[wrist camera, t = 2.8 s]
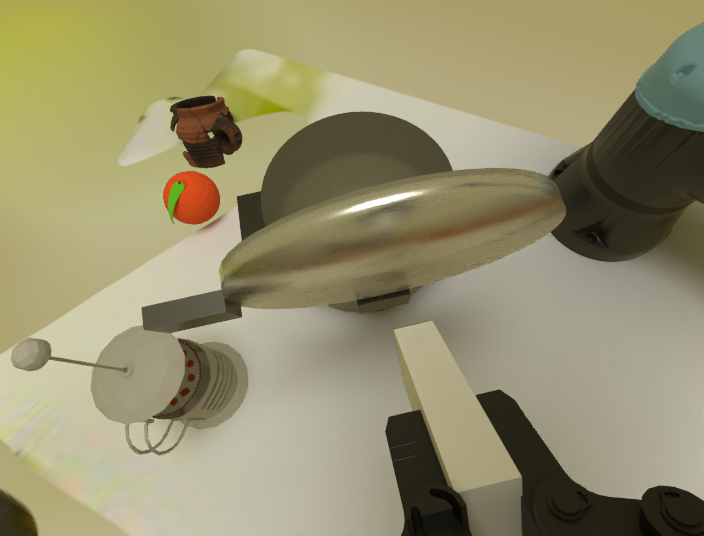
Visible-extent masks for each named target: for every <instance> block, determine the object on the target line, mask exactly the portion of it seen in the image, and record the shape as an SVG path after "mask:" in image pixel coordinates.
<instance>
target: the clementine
mask: <svg viewBox="0 0 704 536" xmlns="http://www.w3.org/2000/svg"><path fill="white" fill-rule="evenodd" d="M163 199H164V203H165V207H166V208H167V210H168V211H169V215H170V218H171V220H172V222H173V218H172V217H174V218H176V219H177V220H179V221H181V222H184V223H187V224H201V223H203V222H206V221H208V220H209V219H211V218H212V217H213V216H214V215H215V214H216V212H217V210H218V208H219V205H220V195H219V191H218V189H217V187H216V185H215V184H214V182H213V181H212V180H211V179H210V178H208V177H207V176H205V175H203V174H201V173H198V172H194V171H186V172H181V173H178V174H176V175H174V176H173V177H172V178H171V179H169V181H168V182H167V184H166V186H165V189H164V192H163ZM173 224H174V223H173Z"/></svg>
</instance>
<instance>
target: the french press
mask: <svg viewBox="0 0 704 536" xmlns="http://www.w3.org/2000/svg"><path fill="white" fill-rule="evenodd" d="M11 360H12V363H13V366H15V367H16V368H19V369H23V370H27V371H34V370H38V369H40V368H42V367H43V366H44V365H45V364H46V363H47V361H48V360H56V361H62V362H68V363H74V364H81V365H87V366H93V367H94V368H93V371H92V381H91V392H92V395H93V399H94V402H95V405H96V407H97V408H98V409H99V410H100V411H101V412H102V413H103V414H104V415H105V416H106V417H107V418H108V419H110V420H113V421H117V422H120V423H123V424H126V426H125V430H126V440H127V442H128V444H129V447H130V448H131V449H132V450H133V451H134V452H135V453H137V454H146V453H150V452H153V453H155V454H157V455H162V454H166V453H169V452H170V451H171V450H173V449H174V448H175V447H176V446H177V445H178V444H179V442H180V441H181V439H182V437H183V436H184V433H185V431H186V428H187V426H191V427H195V428H198V429H203V428H208V427H214V426H217V425H219V424H221V423H222V422H224V421H225V420H227V419H229V418H230V417H232V415H233V414H234V413H235V411H236V410H237V409H238V408H239V406H240V405H241V404H242V402H243V399H244V396H245V393H246V390H247V387H248V377H247V367H246V365H245V363H244V361H243V359H242V357H241V355H240V354H239V353H237V352H236V351H235V350H234V349H233V348H231V347H230V346H229V345H225V344H221V343H216V342H211V343H206V344H198V343H196V342H193V341H191V340H186V339H180V338H179V339H177V338H175V337H174V336H173V335H172V334H171V333H163V332H155V331H146V330H144V329H143V326H137V327H132V328H130V329H128V330H126V331H124V332H123V333H121V334H119V335H117V336H115V337H114V338H113V339H112V341H111V342H110V343H109V344H108V345H107V346H106V347H105V348H104V349H103V350H102V351H101V353H100V355H99V358H98V360H97V362H96V364H93V363H87V362H81V361H75V360H69V359H63V358H57V357H51V346H50V344H49V343H48V342H47V341H45V340H41V339H32V338H28V339H26V340H24V341H22V342H20V343H19V344H18V345H17V346H16V347H15V348H14V349H13V351H12V356H11ZM151 417H153V418H157V419H169V420H171V422H170V424H169V426H168V428H167V430H166V432H165V434H164V436H163V438H162V440H161V441H160V442H159V443H158V444H157V445H156V446H155V447H153V448H152V446H151V444H150V442H149V440H148V425H149V423H153V422H154V419H149V418H151ZM177 420H180V421H181V422H182V423H183V424H184V425H185V426H184V428H183V431H182V433H181V435H180V437H179V439H178V441H177V442H176V444H175V445H174V446H173V447H172V448H170V449H168V450H166V451H162V452H158V451H156V450H155V449H156V448H157V447H158V446H159V445H160V444H162V442H163V441H164V439H165V438H166V436H167V435H168V432H169V430H170V428H171V426H172V423H173V421H177ZM135 422H146V424H145V425H144V433H145V441H146V443H147V445H148V447H149V450H145V451H140V450H138V449H136V448H135V447H134V446H133V445H132V443H131V440H130V438H129V424H130V423H135Z"/></svg>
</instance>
